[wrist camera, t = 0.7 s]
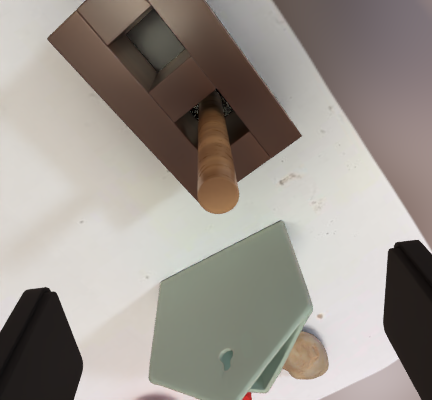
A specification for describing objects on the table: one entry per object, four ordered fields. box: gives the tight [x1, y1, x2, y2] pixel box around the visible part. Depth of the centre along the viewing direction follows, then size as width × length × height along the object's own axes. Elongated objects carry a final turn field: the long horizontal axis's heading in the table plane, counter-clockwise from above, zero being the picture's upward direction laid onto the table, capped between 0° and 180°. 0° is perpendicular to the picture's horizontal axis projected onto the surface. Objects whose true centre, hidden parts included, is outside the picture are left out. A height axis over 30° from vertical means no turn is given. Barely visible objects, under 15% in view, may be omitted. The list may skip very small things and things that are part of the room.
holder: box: [47, 0, 302, 202], centre depth 35 cm, size 10×17×8 cm, turn 38°
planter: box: [149, 221, 313, 400], centre depth 40 cm, size 16×8×20 cm, turn 121°
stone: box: [283, 331, 329, 379], centre depth 53 cm, size 7×6×8 cm
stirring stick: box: [197, 91, 239, 214], centre depth 31 cm, size 2×2×20 cm
